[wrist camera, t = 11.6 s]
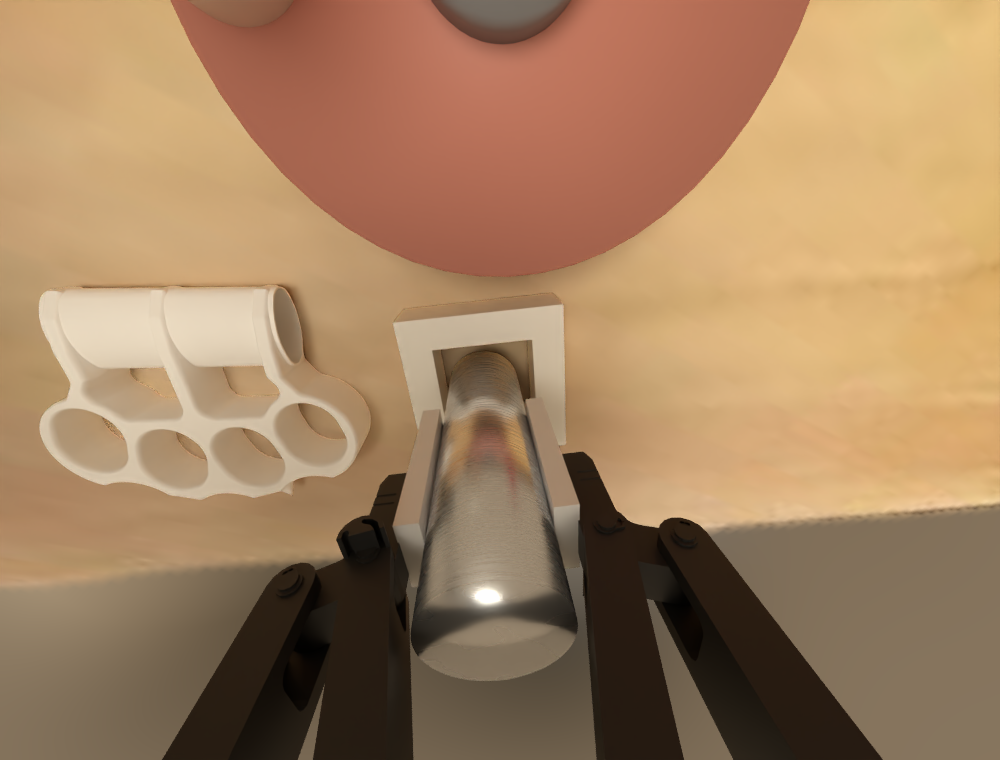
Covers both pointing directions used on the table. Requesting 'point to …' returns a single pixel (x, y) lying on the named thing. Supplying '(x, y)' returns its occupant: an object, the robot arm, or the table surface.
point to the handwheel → (493, 113)
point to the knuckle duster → (190, 390)
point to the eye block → (483, 325)
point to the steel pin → (490, 539)
